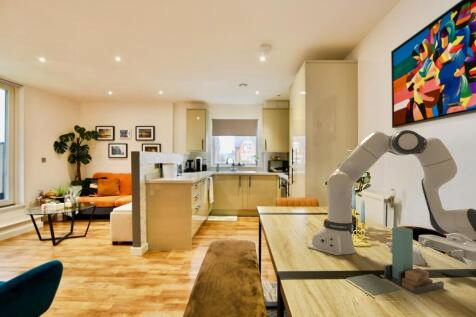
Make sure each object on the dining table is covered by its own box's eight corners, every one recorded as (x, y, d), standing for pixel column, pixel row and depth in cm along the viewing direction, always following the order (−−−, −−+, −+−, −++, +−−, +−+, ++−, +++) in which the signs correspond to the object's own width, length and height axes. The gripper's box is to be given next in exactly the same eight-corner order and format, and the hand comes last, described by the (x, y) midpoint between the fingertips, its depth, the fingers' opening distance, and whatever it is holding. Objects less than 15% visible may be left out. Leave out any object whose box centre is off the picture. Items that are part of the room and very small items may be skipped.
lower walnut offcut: (413, 291, 79) (413, 283, 79) (401, 285, 83) (401, 278, 83) (432, 287, 82) (432, 280, 82) (420, 281, 85) (420, 274, 86)
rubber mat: (374, 298, 76) (374, 295, 76) (346, 280, 88) (346, 278, 88) (402, 292, 80) (402, 289, 80) (371, 276, 91) (371, 273, 91)
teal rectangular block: (402, 281, 85) (402, 230, 86) (392, 276, 89) (392, 227, 90) (412, 279, 87) (412, 229, 87) (402, 274, 91) (402, 226, 91)
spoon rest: (382, 247, 124) (382, 233, 124) (408, 249, 122) (408, 235, 122) (404, 266, 101) (404, 249, 101) (436, 269, 99) (436, 251, 99)
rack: (415, 297, 77) (415, 281, 77) (379, 278, 90) (379, 264, 90) (443, 291, 81) (443, 276, 81) (404, 273, 94) (404, 260, 94)
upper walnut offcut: (416, 283, 79) (416, 275, 79) (405, 278, 82) (405, 271, 82) (428, 279, 82) (428, 272, 82) (417, 275, 85) (417, 268, 85)
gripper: (431, 230, 105) (408, 232, 100) (493, 245, 85) (468, 249, 81) (431, 244, 105) (408, 247, 100) (493, 263, 85) (468, 268, 81)
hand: (435, 248), depth 91 cm, fingers open, 8 cm apart
